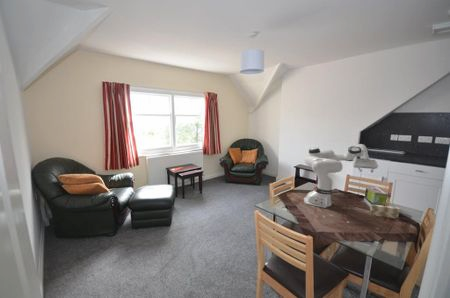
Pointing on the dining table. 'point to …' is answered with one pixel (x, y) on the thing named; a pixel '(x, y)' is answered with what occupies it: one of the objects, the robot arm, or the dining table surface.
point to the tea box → (375, 196)
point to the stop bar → (384, 211)
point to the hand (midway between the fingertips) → (366, 171)
